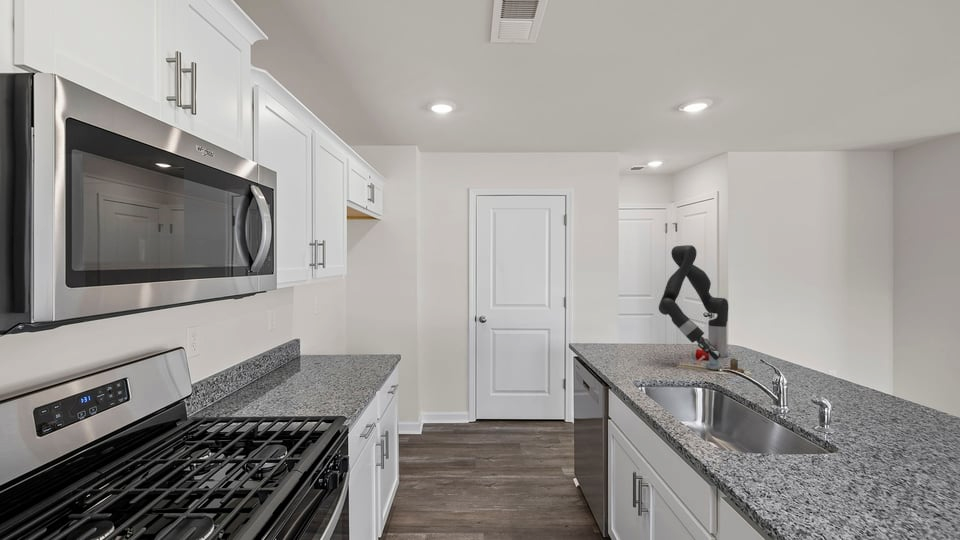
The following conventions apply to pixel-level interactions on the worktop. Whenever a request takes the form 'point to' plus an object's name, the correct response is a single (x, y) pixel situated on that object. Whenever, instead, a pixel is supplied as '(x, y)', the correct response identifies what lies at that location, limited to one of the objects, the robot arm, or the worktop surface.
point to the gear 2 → (734, 366)
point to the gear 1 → (713, 363)
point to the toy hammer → (699, 355)
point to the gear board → (703, 369)
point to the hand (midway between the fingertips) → (718, 358)
